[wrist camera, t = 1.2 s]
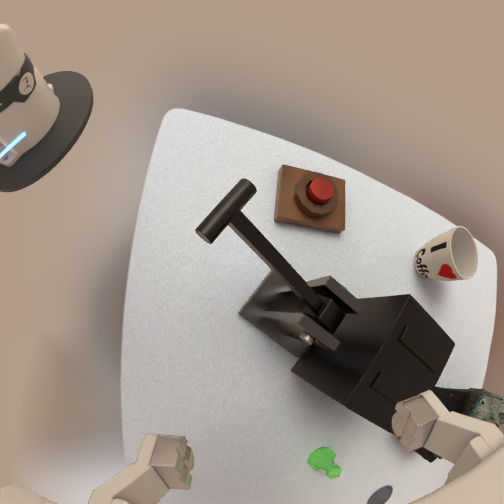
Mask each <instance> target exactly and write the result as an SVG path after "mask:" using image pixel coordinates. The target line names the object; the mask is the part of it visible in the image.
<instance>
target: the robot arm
mask: <svg viewBox="0 0 504 504" xmlns="http://www.w3.org/2000/svg"><path fill="white" fill-rule="evenodd" d="M59 109H60V102H59V99H58V97H57V96H56V95H55V94H54V88H53V86H52V84H47V83H46V81H45V80H44V78H43V77H42V76H41V74H40V73H39V71H38V70H37V69H36V68H35V67H33V65H32V63H31V60H30V58H29V57H28V56H27V54H26V53H23V51H22V49H21V47H20V45H19V43H18V41H17V39H16V37H15V35H14V33H13V30H12V28H11V27H9V26H8V25H6V24H1V23H0V164H2V165H4V166H7V167H11V166H12V165H13V164H14V163H15V162H16V161H17V160H18V159H19V158H20V156H21V155H22V154H24V153H25V152H26V151H28V150H29V149H31V148H32V147H33V146H35V145H36V144H37V143H38V142H39V141H40V140H41V139H42V138H43V137H44V136H45V135H46V134H47V132H48V131H49V130H50V128H51V127H52V125H53V124H54V122H55V120H56V118H57V116H58V113H59ZM395 409H396V411H397V412H396V413H395V414H394V415H393V418H392V428H393V431H394V433H395V435H396V436H398V437H400V438H401V440H400V444H401V446H402V447H403V449H404V451H405V453H408V452H411V451H413V450H416V449H418V448H421V447H423V446H424V448H426V449H427V450H429V451H431V452H433V453H435V454H437V455H438V456H440V457H442V458H444V459H446V460H448V461H450V462H452V463H454V466H453V467H452V468H451V470H450V471H449V473H448V476H449V478H450V479H451V481H452V482H450V483H448V484H446V485H445V486H443V487H441V488H439V489H437V490H435V491H434V492H432V493H430V494H428V495H426V496H424V497H422V498H420V499H417V500H415V501H413V502H411V503H409V504H504V435H503V434H502V433H501V431H500V430H499V429H498V428H497V427H496V425H495V424H493V423H489V422H486V421H482V420H479V419H476V418H472V417H469V416H466V415H463V414H459V413H456V412H453V411H452V412H449V411H448V410H447V409H446V407H445V406H444V405H443V404H442V403H441V401H440V400H439V399H438V398H437V397H436V395H435V394H434V393H433V392H432V391H431V390H428V391H425V392H423V393H420V394H417V395H415V396H412V397H410V398H407V399H404V400H402V401H399V402H398V403H397V404H396V407H395ZM187 442H188V441H187V439H186V437H185V436H173V435H160V434H148V433H147V434H146V435H145V437H144V439H143V442H142V445H141V448H140V451H139V454H138V457H137V460H136V463H135V464H134V463H132V464H130V465H129V466H128V467H126V468H125V469H124V470H122V471H121V472H120V473H118V474H117V475H115V476H114V477H112V478H111V479H110V480H108V481H107V482H105V483H104V484H102V485H101V486H99V487H98V488H96V489H95V490H93V492H92V494H91V497H90V499H89V502H88V504H156V503H157V502H158V501H159V500H160V499H161V498H162V497H163V496H164V495H165V494H166V493H167V492H168V490H169V488H171V489H188V490H190V488H191V481H192V476H191V474H190V471H191V470H192V469H193V466H194V456H193V452H192V449H191V447H189V446H187ZM0 504H57V503H54V502H52V501H50V500H48V499H46V498H44V497H42V496H40V495H38V494H36V493H34V492H32V491H30V490H29V489H27V488H25V487H23V486H21V485H19V484H12V485H8V486H5V487H3V488H0Z"/></svg>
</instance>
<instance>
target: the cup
mask: <svg viewBox="0 0 504 504" xmlns="http://www.w3.org/2000/svg"><path fill="white" fill-rule="evenodd" d="M477 263H478V255H477V248H476V244H475V241H474V239H473V237H472V235H471V234H470V232H469V231H468V230H467V229H466V228H465V227H462V226H458V227H456V228H453V229H451V230H449V231H447V232H445V233H442V234H440V235H438V236H437V237H435V238H434V239H432V240H430V241H429V242H427V243H426V244H425V245H424V246H422V247H421V248H420V249H419V250H418V251H417V252H416V254H415V258H414V264H415V268H416V271H417V272H418V274H419V275H420V276H422V277H425V278H428V279H432V280H443V281H453V280H465V279H470V278H472V277H473V276H474V274H475V272H476V269H477Z"/></svg>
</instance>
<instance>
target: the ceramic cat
mask: <svg viewBox="0 0 504 504" xmlns="http://www.w3.org/2000/svg"><path fill="white" fill-rule="evenodd" d="M432 392H433V393H434V394H435V395H436V397H437V398H438V399H439V400H440V401H441V403H442V404H443V405H444V406H445V407H446V409H447V410H448V411H449V412H452V411H453V412H456V413H459V414H463V415H466V416H469V417H472V418H476V419H479V420H482V421H486V422H489V423H493V424H495V425H497V427H499V425H500V424H504V402H503V401H502V400H503V397H500V396H498V395H495V394H493V393H490V392H488V391H486V390H484V389H475V388H470V389H449V388H440V387H436V386H435V387H434V389H433V390H432Z"/></svg>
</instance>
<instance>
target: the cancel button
mask: <svg viewBox="0 0 504 504" xmlns="http://www.w3.org/2000/svg"><path fill="white" fill-rule="evenodd" d="M307 195H308V197H309V199H310V200H311V201H312V202H314V203H316V204H323V203H325V202H326V201H327V200H328V199H330V198H331V197H332V195H333V187H332V185H331V183H330V182H329V181H328V180H327V179H325V178H316V179H314V180H313V181H312V182H311V183H310V185H309V186H308V187H307Z"/></svg>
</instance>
